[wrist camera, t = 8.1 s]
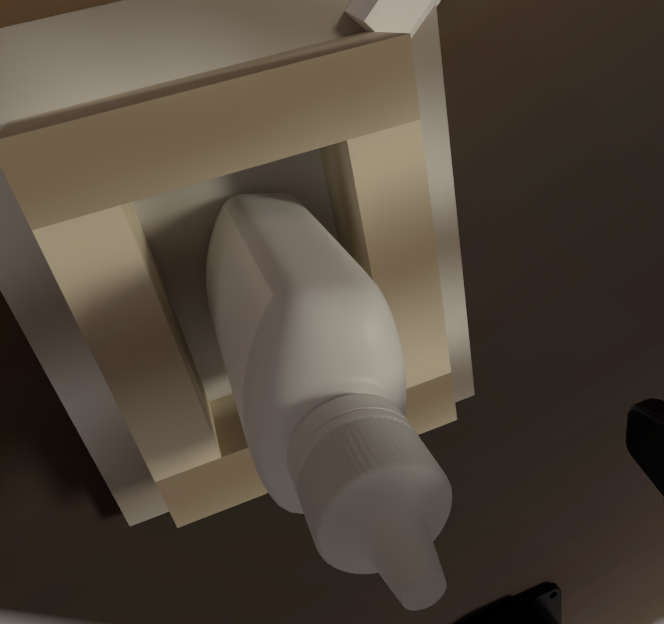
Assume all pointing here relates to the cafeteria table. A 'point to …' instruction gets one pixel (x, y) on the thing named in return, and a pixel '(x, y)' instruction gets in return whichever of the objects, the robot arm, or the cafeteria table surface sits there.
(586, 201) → the cafeteria table surface
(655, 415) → the robot arm
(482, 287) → the cafeteria table surface
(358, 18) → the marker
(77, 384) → the collar block
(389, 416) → the eye dropper bottle
